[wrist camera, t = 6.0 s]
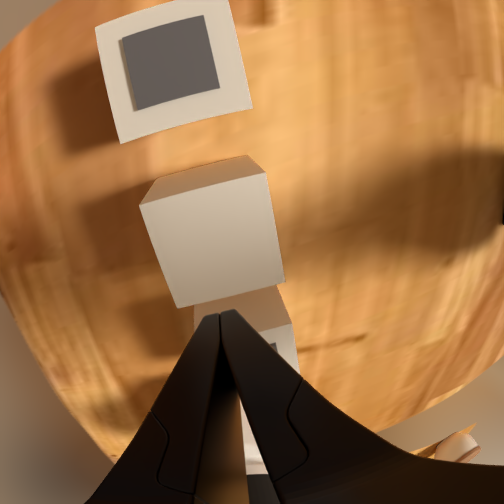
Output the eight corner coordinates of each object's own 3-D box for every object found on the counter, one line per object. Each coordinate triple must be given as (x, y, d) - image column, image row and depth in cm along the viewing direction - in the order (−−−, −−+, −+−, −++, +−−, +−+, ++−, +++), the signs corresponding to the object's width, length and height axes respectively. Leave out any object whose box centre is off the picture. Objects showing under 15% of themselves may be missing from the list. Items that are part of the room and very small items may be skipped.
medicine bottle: (174, 406, 24) (178, 531, 13) (217, 361, 22) (237, 513, 11) (239, 426, 26) (259, 534, 16) (287, 387, 24) (326, 510, 14)
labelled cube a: (282, 330, 21) (302, 384, 17) (212, 348, 21) (217, 405, 17) (271, 273, 19) (293, 325, 15) (191, 293, 19) (190, 350, 14)
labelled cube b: (238, 110, 15) (253, 108, 10) (141, 135, 14) (114, 146, 10) (218, 24, 12) (225, -12, 8) (122, 51, 12) (88, 28, 7)
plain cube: (264, 237, 18) (285, 282, 14) (182, 258, 18) (177, 308, 13) (247, 154, 16) (265, 172, 11) (156, 178, 15) (138, 205, 11)
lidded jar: (474, 419, 45) (492, 448, 36) (448, 446, 49) (463, 473, 41) (446, 432, 42) (465, 465, 34) (418, 459, 47) (434, 489, 39)
